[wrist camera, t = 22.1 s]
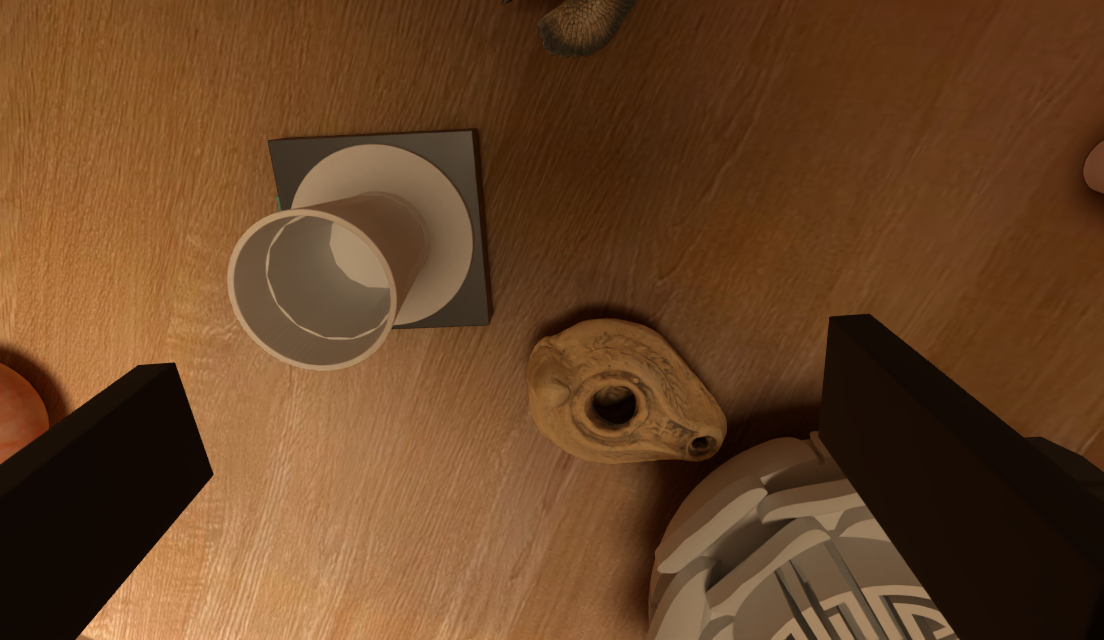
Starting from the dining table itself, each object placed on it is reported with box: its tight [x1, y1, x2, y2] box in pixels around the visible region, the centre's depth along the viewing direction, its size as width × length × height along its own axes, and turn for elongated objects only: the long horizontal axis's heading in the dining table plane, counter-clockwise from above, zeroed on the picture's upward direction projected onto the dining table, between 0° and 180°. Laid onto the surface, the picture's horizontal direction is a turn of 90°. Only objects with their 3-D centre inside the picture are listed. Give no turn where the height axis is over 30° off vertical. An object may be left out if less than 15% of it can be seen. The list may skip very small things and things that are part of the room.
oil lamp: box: [525, 318, 727, 464], centre depth 43 cm, size 11×15×8 cm
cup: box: [227, 191, 430, 371], centre depth 35 cm, size 8×8×12 cm
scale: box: [268, 128, 493, 329], centre depth 42 cm, size 13×13×3 cm
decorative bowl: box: [645, 431, 959, 640], centre depth 44 cm, size 30×30×15 cm
